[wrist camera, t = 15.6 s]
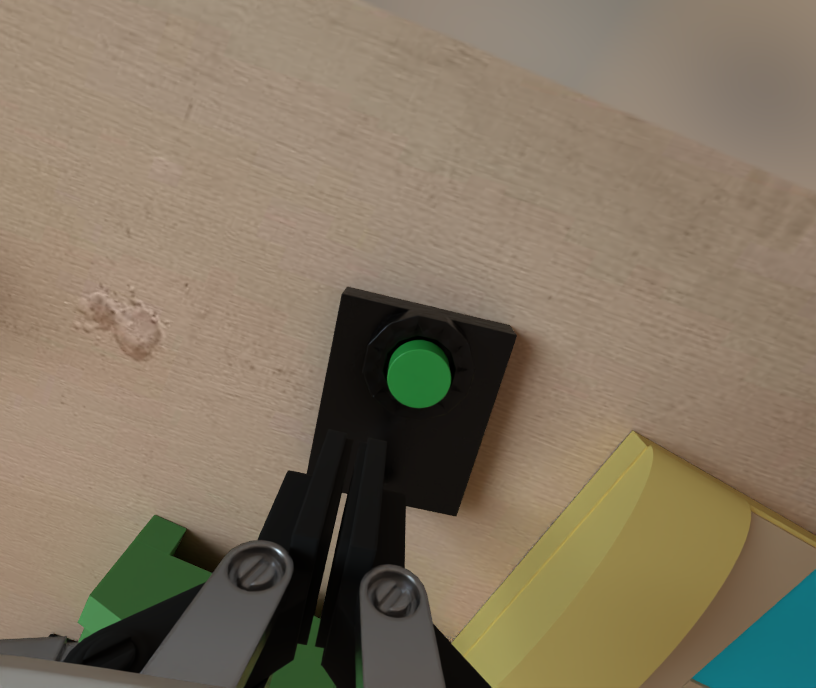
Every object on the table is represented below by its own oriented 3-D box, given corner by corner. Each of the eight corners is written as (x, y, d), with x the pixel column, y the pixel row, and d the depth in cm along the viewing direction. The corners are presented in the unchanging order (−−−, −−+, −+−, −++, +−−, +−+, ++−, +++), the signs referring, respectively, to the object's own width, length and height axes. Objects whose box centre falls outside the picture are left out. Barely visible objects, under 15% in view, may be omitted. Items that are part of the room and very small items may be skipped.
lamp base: (347, 282, 29) (337, 296, 25) (511, 321, 29) (525, 340, 26) (311, 466, 33) (297, 502, 29) (453, 497, 34) (458, 535, 30)
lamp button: (396, 333, 26) (395, 342, 24) (455, 347, 26) (458, 357, 25) (383, 388, 27) (381, 401, 25) (440, 401, 27) (441, 414, 26)
